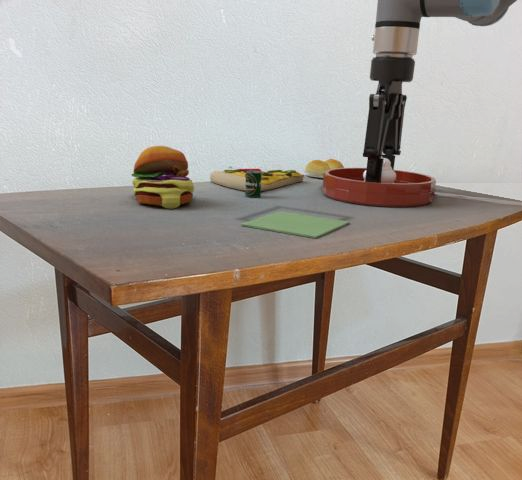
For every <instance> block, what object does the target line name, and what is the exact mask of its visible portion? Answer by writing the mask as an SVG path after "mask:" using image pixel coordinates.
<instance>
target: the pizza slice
mask: <svg viewBox="0 0 522 480" xmlns="http://www.w3.org/2000/svg"><path fill="white" fill-rule="evenodd" d="M250 170H254V171H260V172H261V192H264V191H269V190H274V189H278V188H281V187H286V186H289V185H293V184H296V183H301V182H303V181H304V176H305V175H304V174H302V173H300V172H299V171H296V170H295V169H289V170H283V169H272V170H267V171H264V170H263V171H262V169H261V168H237V169H224V170H223V171H221V170H214V171H212V172H211V173H210V175H209V180H210V182H212V183H214V184H216V185H220V186H222V187H226V188H229V189H233V190H239V191H242V192H243V191H244V192H245V184H246V173H247V171H250Z"/></svg>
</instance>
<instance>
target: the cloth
mask: <svg viewBox="0 0 522 480" xmlns="http://www.w3.org/2000/svg"><path fill="white" fill-rule="evenodd" d="M350 222H351V221H348V220H341V219H334V218H329V217H328V218H327V217H321V216H314V215H309V214H301V213H295V212H289V211H282V210H280V211H277V212H273V213H269V214H267V215H264V216H261V217H258V218H254V219H251V220H248V221H245V222H242V223H240V226H241V227H246V228H252V229H258V230H264V231H270V232H276V233H282V234H287V235H293V236H300V237H305V238H311V239H318V238H321V237H323V236H325V235H328V234H330V233H332V232H334V231H336V230H338V229H341V228H343V227H345V226H347V225H350Z"/></svg>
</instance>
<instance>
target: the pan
mask: <svg viewBox="0 0 522 480" xmlns="http://www.w3.org/2000/svg"><path fill="white" fill-rule="evenodd" d="M366 169H367V167H344V168H337V169H330V170H326V171H325V172H324V176H322V178H323V180H322V188H321V190H322V191H321V192H322V193H323V194H324V195H325V197H327V198H330V199H333V200H335V201H339V202H343V203H348V204H355V205H360V206H361V205H362V206H370V207H383V208H387V207H388V208H409V207H411V208H412V207H420V206H424V205H428V204H429V203H431V202H433V201H434V199H435V198H434V197H435V191H436V183H437V179H436V177H433V176H431V175H429V174H428V175H427V174H424V173H421V172H420V173H419V172H413V171H408V170H398V169H394V172H395V173H396V179H395V181H394V183H377V182H366V181H364V180H365V179H364V177H363V173H364V172H365V170H366Z"/></svg>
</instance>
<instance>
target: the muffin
mask: <svg viewBox="0 0 522 480" xmlns="http://www.w3.org/2000/svg"><path fill="white" fill-rule="evenodd" d="M381 158H383V157H382V156H381ZM390 165H391V162H390V160H389V159H387V158H383V166H382V175H381V183H394V181H395V179H396V173H395V172H394V171H393V170H392V167H391V166H390ZM363 177H364V179H366V170H365V172H364V173H363ZM364 181H365V180H364Z"/></svg>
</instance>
